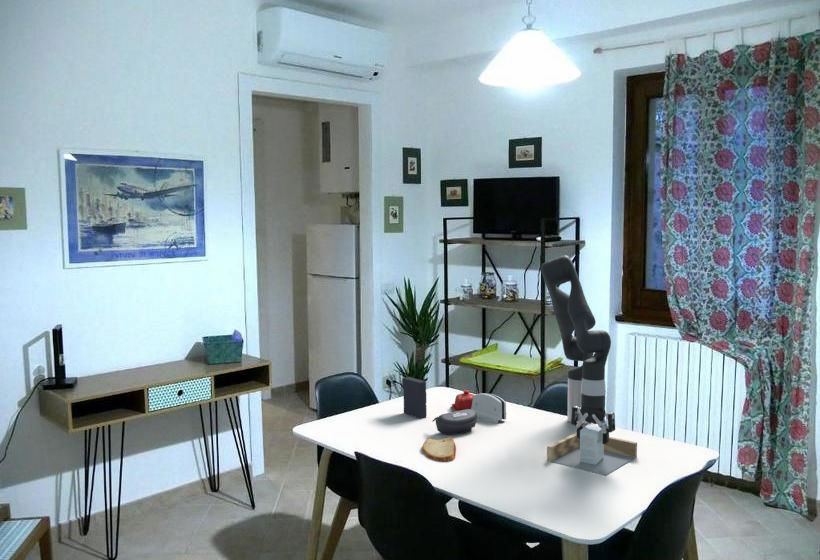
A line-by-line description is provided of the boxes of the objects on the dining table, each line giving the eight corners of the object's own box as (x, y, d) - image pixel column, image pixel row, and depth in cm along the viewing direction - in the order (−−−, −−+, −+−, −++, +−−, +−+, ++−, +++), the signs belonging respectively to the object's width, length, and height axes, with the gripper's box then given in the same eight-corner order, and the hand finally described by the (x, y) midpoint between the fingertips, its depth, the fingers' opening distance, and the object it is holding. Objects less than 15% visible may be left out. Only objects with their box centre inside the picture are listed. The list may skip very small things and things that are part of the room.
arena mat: (582, 446, 239) (582, 445, 239) (634, 458, 226) (634, 457, 226) (551, 462, 223) (551, 461, 223) (605, 476, 210) (605, 475, 210)
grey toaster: (468, 415, 279) (470, 390, 279) (476, 414, 282) (478, 390, 282) (497, 424, 266) (499, 398, 266) (506, 423, 269) (508, 397, 269)
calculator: (427, 417, 275) (427, 381, 274) (419, 419, 273) (419, 382, 272) (410, 412, 284) (410, 376, 283) (402, 414, 281) (402, 377, 280)
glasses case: (445, 440, 247) (445, 418, 247) (428, 432, 256) (428, 412, 255) (483, 431, 257) (483, 410, 257) (465, 424, 266) (465, 404, 265)
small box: (587, 455, 229) (587, 423, 228) (604, 458, 226) (604, 426, 225) (579, 462, 222) (579, 430, 221) (596, 465, 219) (596, 432, 218)
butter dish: (482, 413, 282) (482, 393, 282) (454, 414, 281) (454, 393, 281) (477, 406, 294) (477, 386, 293) (450, 406, 293) (450, 387, 292)
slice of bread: (446, 466, 222) (446, 454, 221) (405, 454, 234) (404, 443, 233) (479, 451, 235) (479, 441, 235) (438, 441, 247) (438, 431, 247)
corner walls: (580, 444, 241) (580, 430, 240) (636, 457, 227) (637, 442, 227) (546, 461, 224) (547, 446, 224) (605, 476, 210) (606, 460, 210)
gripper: (567, 390, 224) (567, 439, 225) (608, 397, 214) (608, 448, 216) (578, 386, 229) (578, 434, 231) (619, 393, 220) (618, 442, 221)
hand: (592, 441), depth 223 cm, fingers open, 8 cm apart
